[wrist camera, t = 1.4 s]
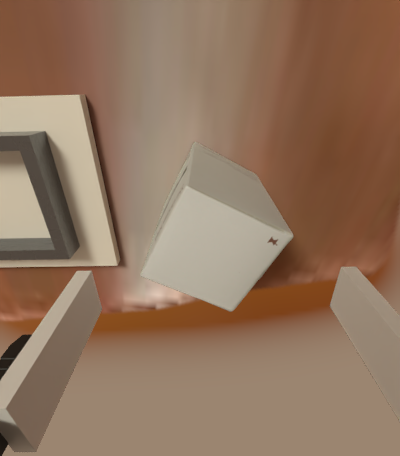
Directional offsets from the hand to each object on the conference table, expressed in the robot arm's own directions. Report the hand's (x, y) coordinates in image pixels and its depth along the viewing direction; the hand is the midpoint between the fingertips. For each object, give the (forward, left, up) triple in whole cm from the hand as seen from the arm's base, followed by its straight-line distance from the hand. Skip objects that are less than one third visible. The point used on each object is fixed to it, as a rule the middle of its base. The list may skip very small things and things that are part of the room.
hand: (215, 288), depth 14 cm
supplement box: (0, 0, -15) cm, 15 cm away
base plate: (0, -21, -15) cm, 26 cm away
